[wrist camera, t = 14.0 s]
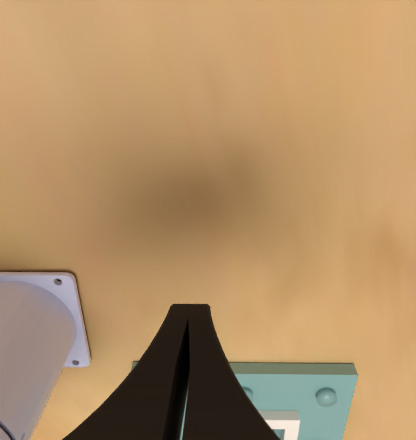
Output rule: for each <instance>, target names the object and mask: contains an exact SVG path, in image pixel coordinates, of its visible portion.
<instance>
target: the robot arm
mask: <svg viewBox="0 0 416 440" xmlns="http://www.w3.org/2000/svg"><path fill="white" fill-rule="evenodd" d="M57 279H60V280H61V281H62V282H59V281H57ZM76 360H77V361H76ZM90 362H91V356H90V351H89V346H88V341H87V336H86V331H85V326H84V320H83V315H82V310H81V305H80V300H79V295H78V290H77V284H76V279H75V277H74V276H73V275H72V274H71V273H67V272H0V440H30V439H31V437H32V435H33V432H34V430H35V428H36V426H37V424H38V421H39V419H40V417H41V415H42V413H43V410H44V408H45V406H46V404H47V402H48V399H49V397H50V395H51V393H52V391H53V388H54V386H55V384H56V382H57V380H58V377H59V375H60V373H61V371H62V369H63V367H87V366H89V364H90ZM187 391H188V393H187ZM186 398H187V402H186ZM185 404H186V411H185V419H184V428H183V436H182V440H281V439H280V438H279V437H278V436H277V435H276V434H275V432H274V431H273V430H272V429H271V427H270V426H269V425H268V424H267V422H266V421H265V420H264V418H263V417H262V416H261V414H260V413H259V412H258V410H257V409H256V407H255V406H254V405H253V403H252V402H251V400H250V399H249V397H248V396H247V394H246V393H245V391H244V390H243V388H242V386H241V385H240V383H239V381H238V379H237V378H236V376H235V374H234V372H233V370H232V368H231V366H230V364H229V362H228V360H227V358H226V356H225V354H224V352H223V349H222V347H221V344H220V342H219V339H218V337H217V334H216V331H215V328H214V325H213V321H212V317H211V311H210V306H209V305H208V304H173V305H172V306H170V309H169V311H168V314H167V316H166V318H165V320H164V322H163V324H162V325H161V327H160V329H159V331H158V333H157V334H156V336H155V337H154V339H153V341H152V342H151V344H150V346H149V347H148V349H147V350H146V352H145V353H144V354H143V356H142V357H141V359H140V360H139V362H138V363H137V364H136V366H135V367H134V368H133V370H132V371H131V372H130V373H129V375H128V376H127V377H126V378H125V379H124V381H123V382H122V383H121V384H120V385H119V387H118V388H117V389H116V390H115V391H114V392H113V393H112V394H111V395H110V396H109V397H108V398H107V400H106V401H105V402H104V403H103V404H102V405H101V406H100V407H99V408H98V409H97V410H95V411H94V412H93V413H92V414H91V415H90V416H89V417H88V418H87V419H86V420H85V421H83V422H82V423H81V424H80V425H79V426H78V427H77V428H76V429H75V430H73V431H72V432H71V433H70V434H68V435H67V436H66V437H65V438H63V439H62V440H180V437H181V430H182V423H183V417H184V410H185Z"/></svg>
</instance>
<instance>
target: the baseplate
mask: <svg viewBox="0 0 416 440" xmlns="http://www.w3.org/2000/svg"><path fill="white" fill-rule="evenodd" d="M137 363H138V362H134V363H133V367H132V370H133V368H134V367H135V366H136V364H137ZM229 364H230V366H231V368H232V370H233V372H234V374H235V376H236V378H237V379H238V381H239V383H240V385H241V386H242V388H243V390H244V391H245V393H246V394H247V396H248V397H249V399H250V400H251V402H252V403H253V405H254V406H255V407H256V409H257V410H258V412H259V413H260V414H261V416H262V417H263V418H264V420H265V421H266V422H267V424H268V425H269V426H270V427H271V429H274V432H275V434H276V435H277V436H278V437H279V438H280V439H281V440H342V438H343V434H344V430H345V426H346V422H347V418H348V414H349V410H350V405H351V401H352V397H353V393H354V389H355V385H356V381H357V377H358V374H357V372H356V369H355V367H354V364H319V363H229ZM187 393H188V391H187ZM186 402H187V398H186ZM185 411H186V404H185V410H184V417H183V423H182V430H181V437H180V440H182V436H183V428H184V419H185Z"/></svg>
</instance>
